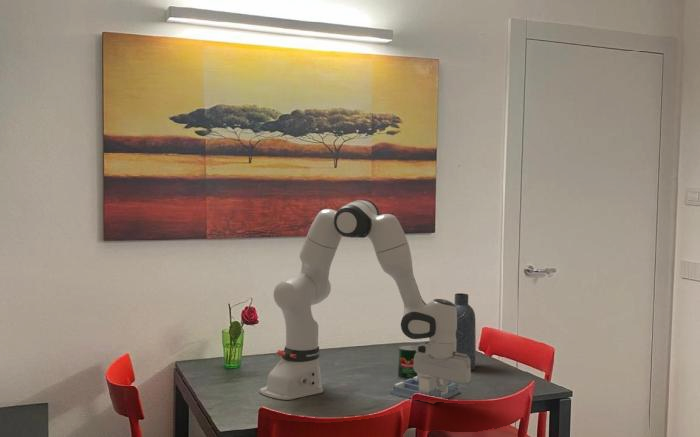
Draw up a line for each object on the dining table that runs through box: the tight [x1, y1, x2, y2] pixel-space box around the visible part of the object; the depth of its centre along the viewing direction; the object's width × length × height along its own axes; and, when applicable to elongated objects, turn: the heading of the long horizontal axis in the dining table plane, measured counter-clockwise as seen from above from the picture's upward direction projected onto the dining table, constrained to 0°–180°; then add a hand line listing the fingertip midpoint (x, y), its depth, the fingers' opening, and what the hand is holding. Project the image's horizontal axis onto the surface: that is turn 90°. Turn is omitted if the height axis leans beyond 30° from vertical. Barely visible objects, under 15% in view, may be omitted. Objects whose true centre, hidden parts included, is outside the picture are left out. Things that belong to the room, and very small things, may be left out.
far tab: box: [417, 373, 428, 380], centre depth 271 cm, size 4×4×6 cm
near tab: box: [419, 376, 435, 394], centre depth 257 cm, size 4×4×6 cm
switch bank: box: [390, 376, 461, 399], centre depth 264 cm, size 17×17×3 cm
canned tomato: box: [397, 344, 417, 381], centre depth 283 cm, size 8×8×11 cm
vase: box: [453, 292, 477, 371], centre depth 297 cm, size 12×12×28 cm
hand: (441, 391), depth 254 cm, fingers closed
